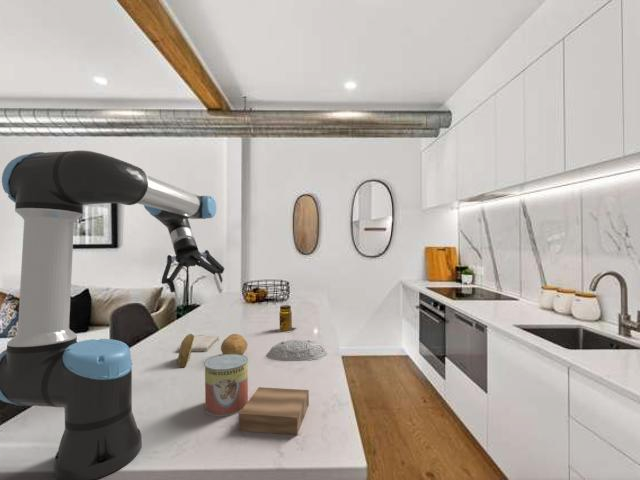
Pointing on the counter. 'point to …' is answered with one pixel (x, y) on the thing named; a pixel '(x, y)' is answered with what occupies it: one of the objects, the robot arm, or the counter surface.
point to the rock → (185, 350)
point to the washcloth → (203, 342)
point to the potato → (234, 345)
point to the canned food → (226, 384)
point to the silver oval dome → (297, 350)
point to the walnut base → (274, 411)
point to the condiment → (285, 319)
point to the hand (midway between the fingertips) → (200, 295)
